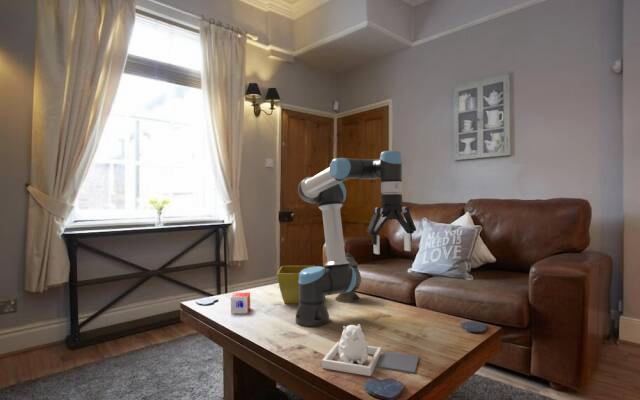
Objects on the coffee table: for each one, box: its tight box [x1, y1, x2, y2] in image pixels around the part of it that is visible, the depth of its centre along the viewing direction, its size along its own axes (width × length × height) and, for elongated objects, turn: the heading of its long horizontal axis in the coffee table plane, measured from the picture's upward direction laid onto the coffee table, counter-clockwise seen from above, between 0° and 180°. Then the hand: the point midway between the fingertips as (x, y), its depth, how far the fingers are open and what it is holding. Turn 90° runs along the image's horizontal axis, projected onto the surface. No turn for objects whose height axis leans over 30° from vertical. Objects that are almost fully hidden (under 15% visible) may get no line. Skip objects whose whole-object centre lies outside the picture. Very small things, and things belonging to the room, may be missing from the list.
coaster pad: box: [375, 350, 420, 375], centre depth 120 cm, size 12×12×1 cm
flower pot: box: [276, 265, 316, 304], centre depth 194 cm, size 19×19×17 cm
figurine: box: [338, 323, 369, 365], centre depth 121 cm, size 10×10×12 cm
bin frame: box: [321, 341, 382, 377], centre depth 121 cm, size 16×16×2 cm
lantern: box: [334, 252, 362, 304], centre depth 195 cm, size 14×14×25 cm
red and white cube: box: [230, 292, 251, 314], centre depth 178 cm, size 8×8×8 cm
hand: (392, 252), depth 131 cm, fingers open, 13 cm apart
